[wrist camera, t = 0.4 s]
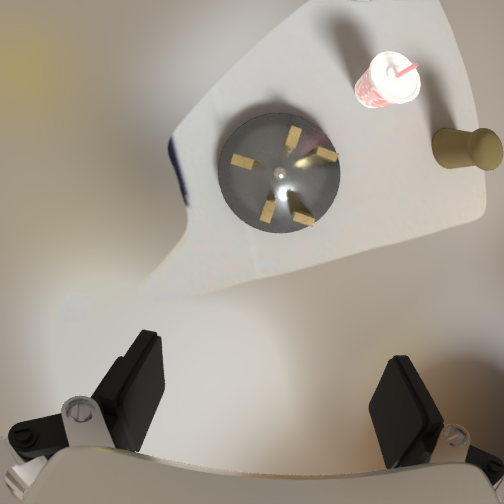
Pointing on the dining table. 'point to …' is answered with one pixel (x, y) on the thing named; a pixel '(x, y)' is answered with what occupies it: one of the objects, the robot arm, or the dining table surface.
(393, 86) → the beverage cup
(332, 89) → the dining table surface
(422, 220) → the dining table surface
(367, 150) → the dining table surface
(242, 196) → the gold studded metal disc
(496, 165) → the cork
